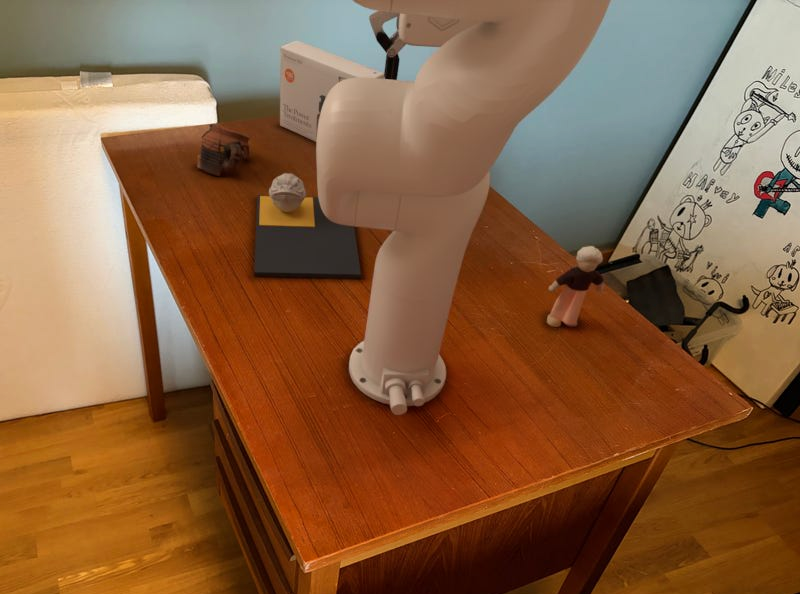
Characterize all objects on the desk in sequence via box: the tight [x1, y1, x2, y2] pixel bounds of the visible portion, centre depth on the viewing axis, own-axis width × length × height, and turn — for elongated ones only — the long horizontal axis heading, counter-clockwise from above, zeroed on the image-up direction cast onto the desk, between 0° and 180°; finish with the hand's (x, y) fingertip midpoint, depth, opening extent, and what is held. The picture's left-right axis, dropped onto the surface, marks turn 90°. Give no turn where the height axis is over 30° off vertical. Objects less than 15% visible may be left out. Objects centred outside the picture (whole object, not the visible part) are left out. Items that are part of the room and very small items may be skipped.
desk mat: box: [253, 195, 362, 280], centre depth 111 cm, size 22×16×1 cm
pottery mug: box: [196, 123, 251, 177], centre depth 125 cm, size 12×10×8 cm
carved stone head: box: [268, 172, 307, 212], centre depth 113 cm, size 6×7×7 cm
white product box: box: [279, 40, 385, 143], centre depth 131 cm, size 21×6×16 cm, turn 50°
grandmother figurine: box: [546, 245, 605, 328], centre depth 96 cm, size 8×4×13 cm, turn 105°
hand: (427, 86), depth 93 cm, fingers open, 9 cm apart
